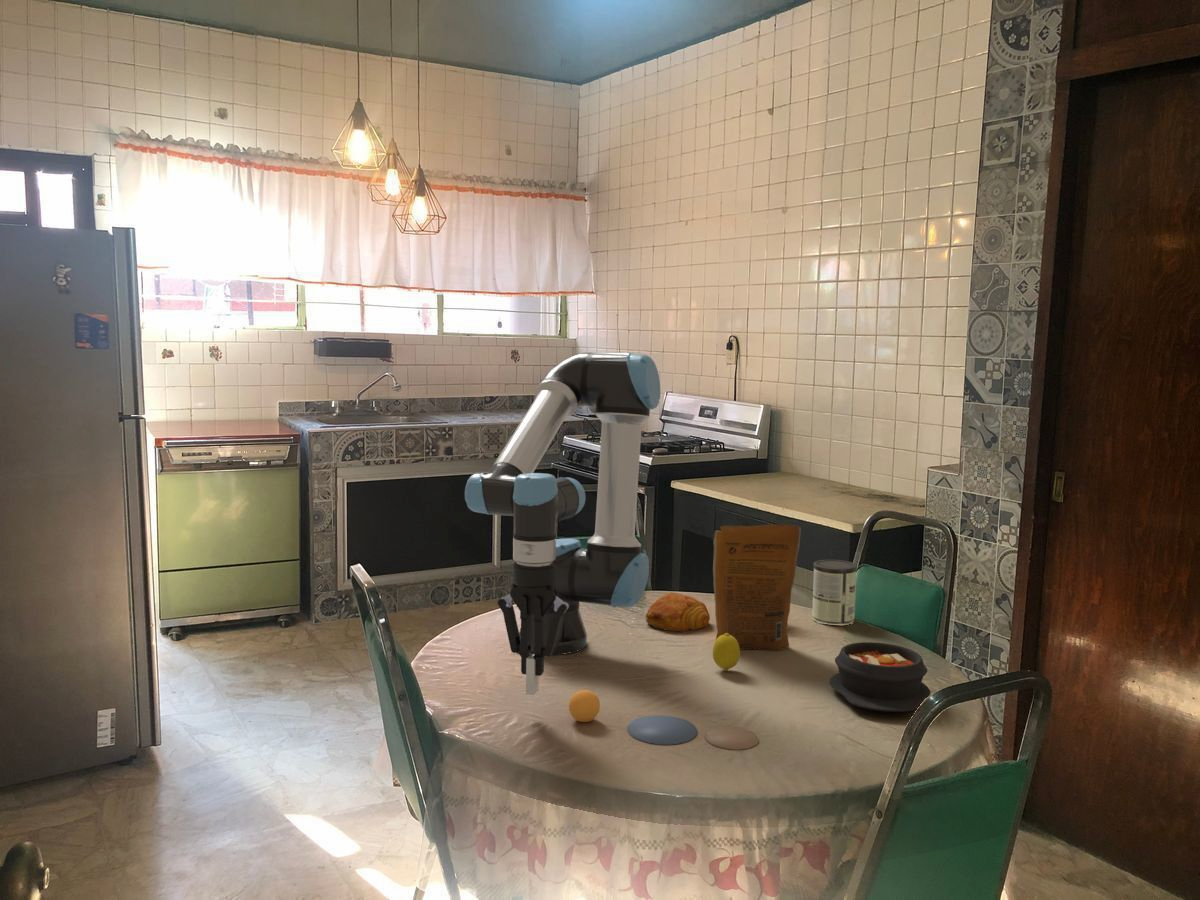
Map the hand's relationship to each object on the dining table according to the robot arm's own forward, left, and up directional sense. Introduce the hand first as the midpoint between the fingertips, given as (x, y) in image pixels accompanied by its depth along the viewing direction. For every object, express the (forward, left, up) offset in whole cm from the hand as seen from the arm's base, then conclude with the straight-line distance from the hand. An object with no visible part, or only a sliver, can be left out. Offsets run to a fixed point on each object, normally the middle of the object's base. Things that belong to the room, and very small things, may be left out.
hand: (532, 692), depth 166 cm
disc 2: (+36, 0, -4) cm, 36 cm away
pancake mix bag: (+35, +50, -5) cm, 61 cm away
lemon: (+31, +33, -5) cm, 46 cm away
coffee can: (+52, +77, -5) cm, 93 cm away
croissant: (+15, +63, -5) cm, 65 cm away
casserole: (+61, +28, -5) cm, 67 cm away
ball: (+10, 0, -2) cm, 10 cm away
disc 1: (+24, 0, -4) cm, 24 cm away
